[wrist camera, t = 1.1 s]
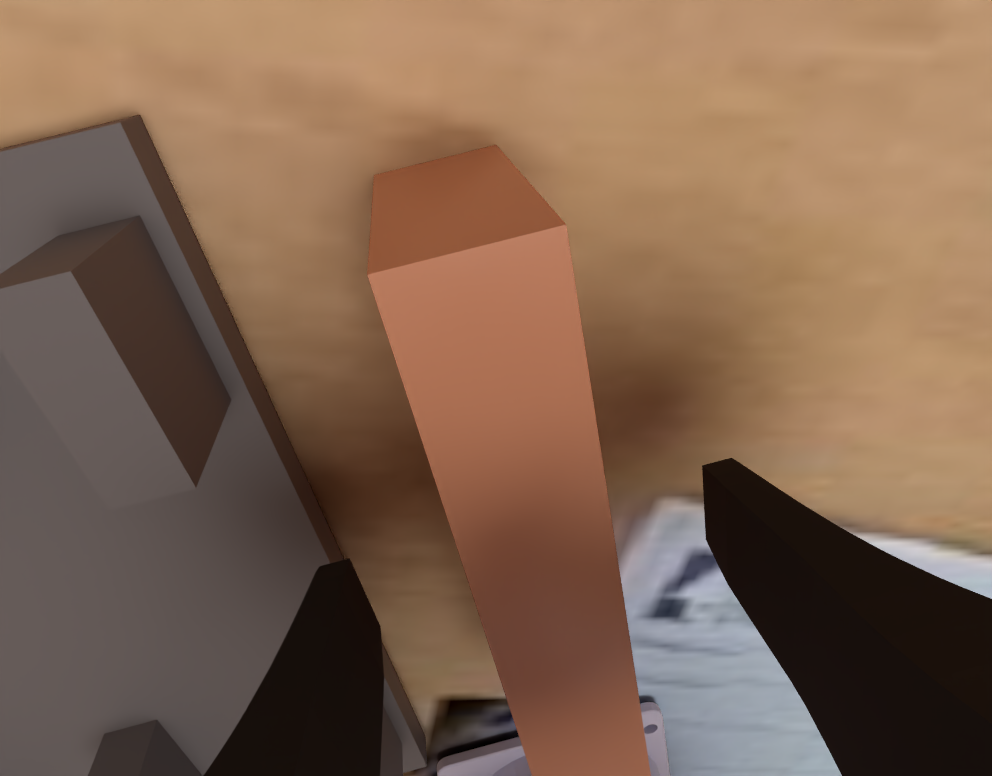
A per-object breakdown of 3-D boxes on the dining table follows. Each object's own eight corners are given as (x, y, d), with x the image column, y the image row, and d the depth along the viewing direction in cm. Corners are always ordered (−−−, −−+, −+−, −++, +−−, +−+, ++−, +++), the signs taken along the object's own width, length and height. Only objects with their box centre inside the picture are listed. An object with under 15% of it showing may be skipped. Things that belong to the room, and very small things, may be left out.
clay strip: (586, 605, 20) (655, 806, 15) (509, 626, 20) (551, 835, 15) (495, 143, 13) (566, 224, 8) (374, 173, 13) (367, 274, 8)
